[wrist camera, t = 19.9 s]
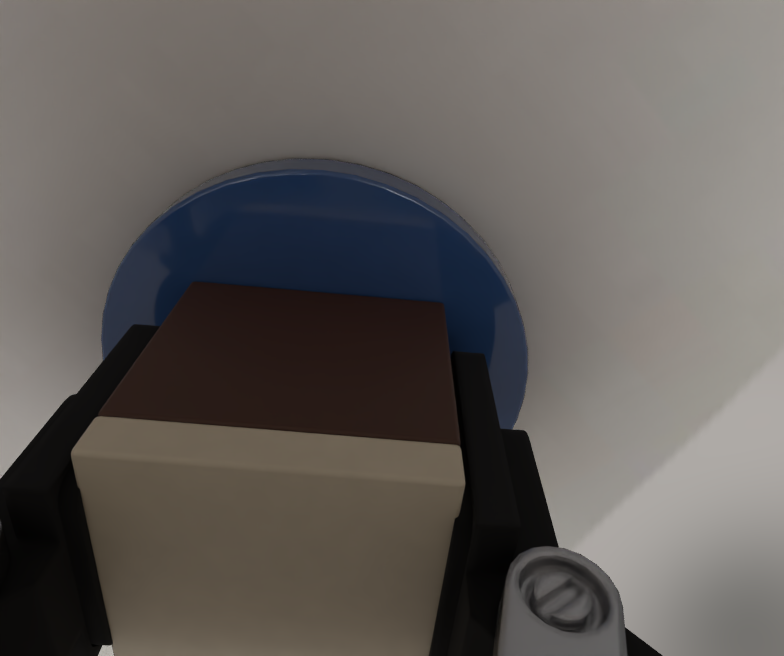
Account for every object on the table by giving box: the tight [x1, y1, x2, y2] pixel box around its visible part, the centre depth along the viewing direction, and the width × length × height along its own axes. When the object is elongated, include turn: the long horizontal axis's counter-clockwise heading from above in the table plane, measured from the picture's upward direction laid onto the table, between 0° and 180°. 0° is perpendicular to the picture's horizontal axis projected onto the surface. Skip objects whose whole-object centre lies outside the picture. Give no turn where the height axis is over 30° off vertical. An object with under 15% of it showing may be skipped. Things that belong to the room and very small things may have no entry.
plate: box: [101, 159, 528, 429], centre depth 12 cm, size 8×8×1 cm
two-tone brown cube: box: [71, 282, 465, 656], centre depth 10 cm, size 4×4×4 cm
